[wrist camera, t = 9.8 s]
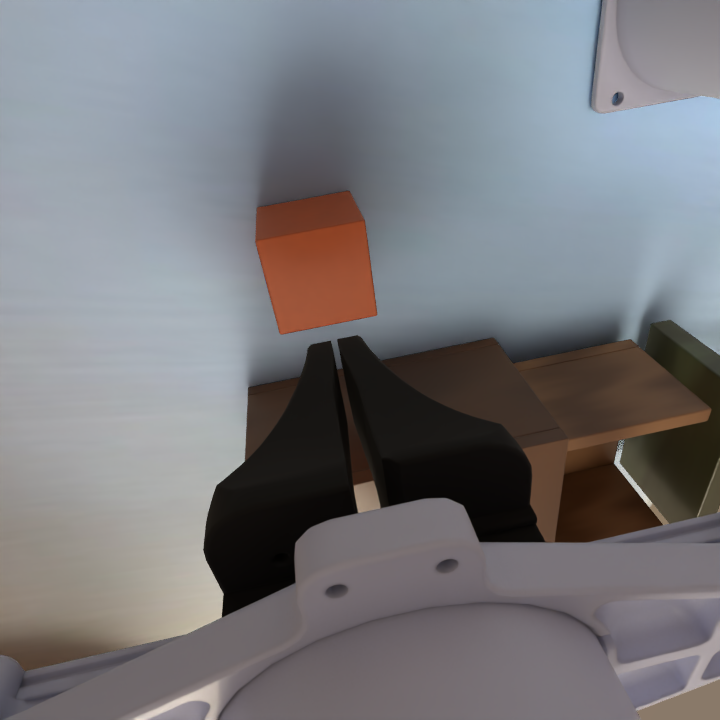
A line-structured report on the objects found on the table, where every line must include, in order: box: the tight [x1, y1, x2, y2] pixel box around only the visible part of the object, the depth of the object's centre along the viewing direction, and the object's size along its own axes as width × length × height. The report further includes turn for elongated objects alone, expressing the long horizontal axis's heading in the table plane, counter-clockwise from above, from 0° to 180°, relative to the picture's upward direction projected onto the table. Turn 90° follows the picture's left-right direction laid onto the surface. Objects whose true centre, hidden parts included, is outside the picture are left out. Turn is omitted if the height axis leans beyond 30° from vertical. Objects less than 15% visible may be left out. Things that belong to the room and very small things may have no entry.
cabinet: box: [245, 338, 569, 542], centre depth 28 cm, size 14×12×8 cm
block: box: [255, 191, 377, 335], centre depth 22 cm, size 4×4×4 cm
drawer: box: [513, 320, 720, 543], centre depth 28 cm, size 18×11×7 cm, turn 98°
